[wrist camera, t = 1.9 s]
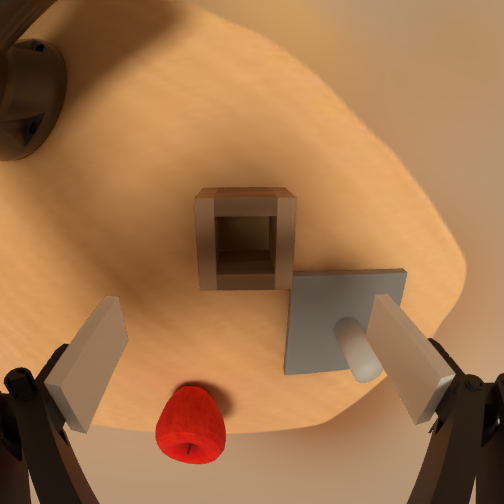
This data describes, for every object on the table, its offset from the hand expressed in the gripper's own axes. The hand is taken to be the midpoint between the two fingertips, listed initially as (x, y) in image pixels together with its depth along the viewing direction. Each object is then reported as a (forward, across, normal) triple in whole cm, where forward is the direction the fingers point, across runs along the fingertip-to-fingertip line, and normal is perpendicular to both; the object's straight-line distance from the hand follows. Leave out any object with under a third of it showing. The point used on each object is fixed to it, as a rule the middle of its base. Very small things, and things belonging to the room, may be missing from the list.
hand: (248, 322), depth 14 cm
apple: (+17, -7, -24) cm, 30 cm away
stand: (+17, +12, -12) cm, 24 cm away
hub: (+17, 0, 0) cm, 17 cm away
